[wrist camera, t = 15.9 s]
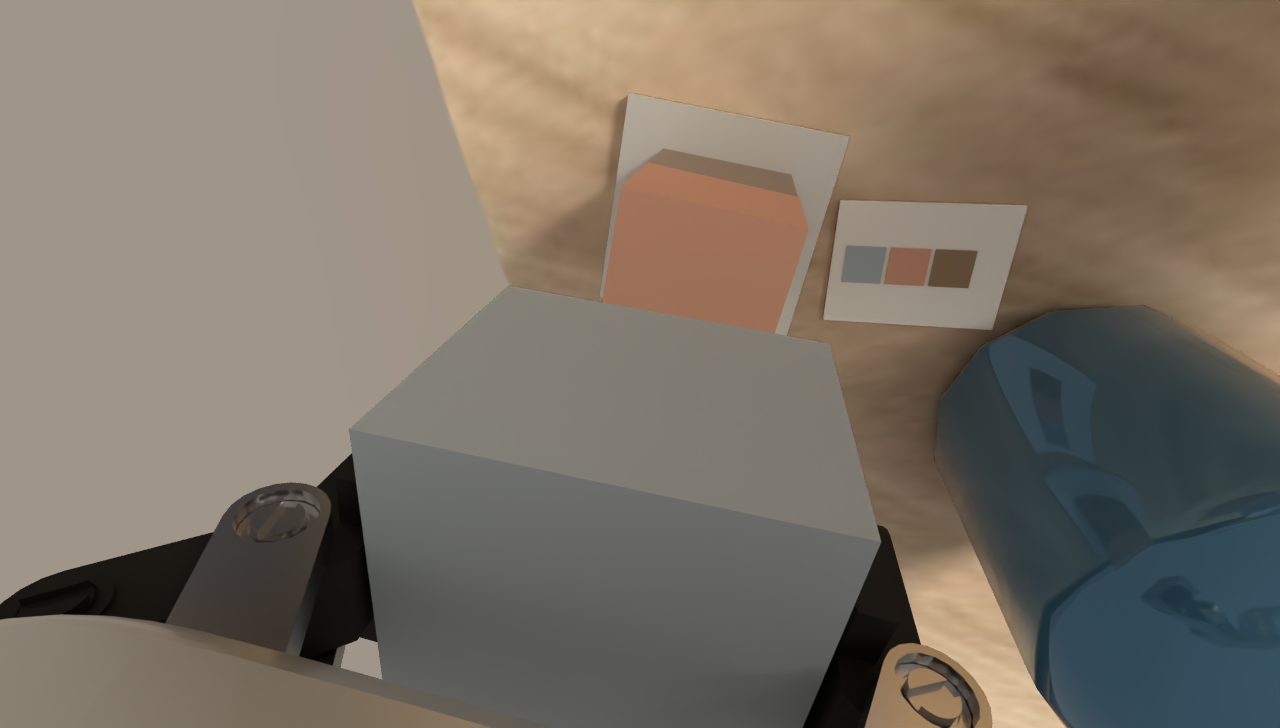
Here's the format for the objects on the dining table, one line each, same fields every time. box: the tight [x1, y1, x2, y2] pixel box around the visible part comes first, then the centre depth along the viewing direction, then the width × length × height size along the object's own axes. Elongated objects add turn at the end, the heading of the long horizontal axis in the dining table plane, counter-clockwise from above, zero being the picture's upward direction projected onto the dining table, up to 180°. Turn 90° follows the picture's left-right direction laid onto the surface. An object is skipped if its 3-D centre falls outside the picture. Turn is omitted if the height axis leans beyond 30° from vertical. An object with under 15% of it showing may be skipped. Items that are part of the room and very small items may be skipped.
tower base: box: [599, 93, 850, 336], centre depth 27 cm, size 10×10×6 cm
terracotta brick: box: [602, 162, 809, 334], centre depth 22 cm, size 6×6×5 cm
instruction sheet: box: [823, 200, 1028, 330], centre depth 28 cm, size 8×6×1 cm
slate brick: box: [349, 285, 881, 728], centre depth 10 cm, size 6×6×5 cm
